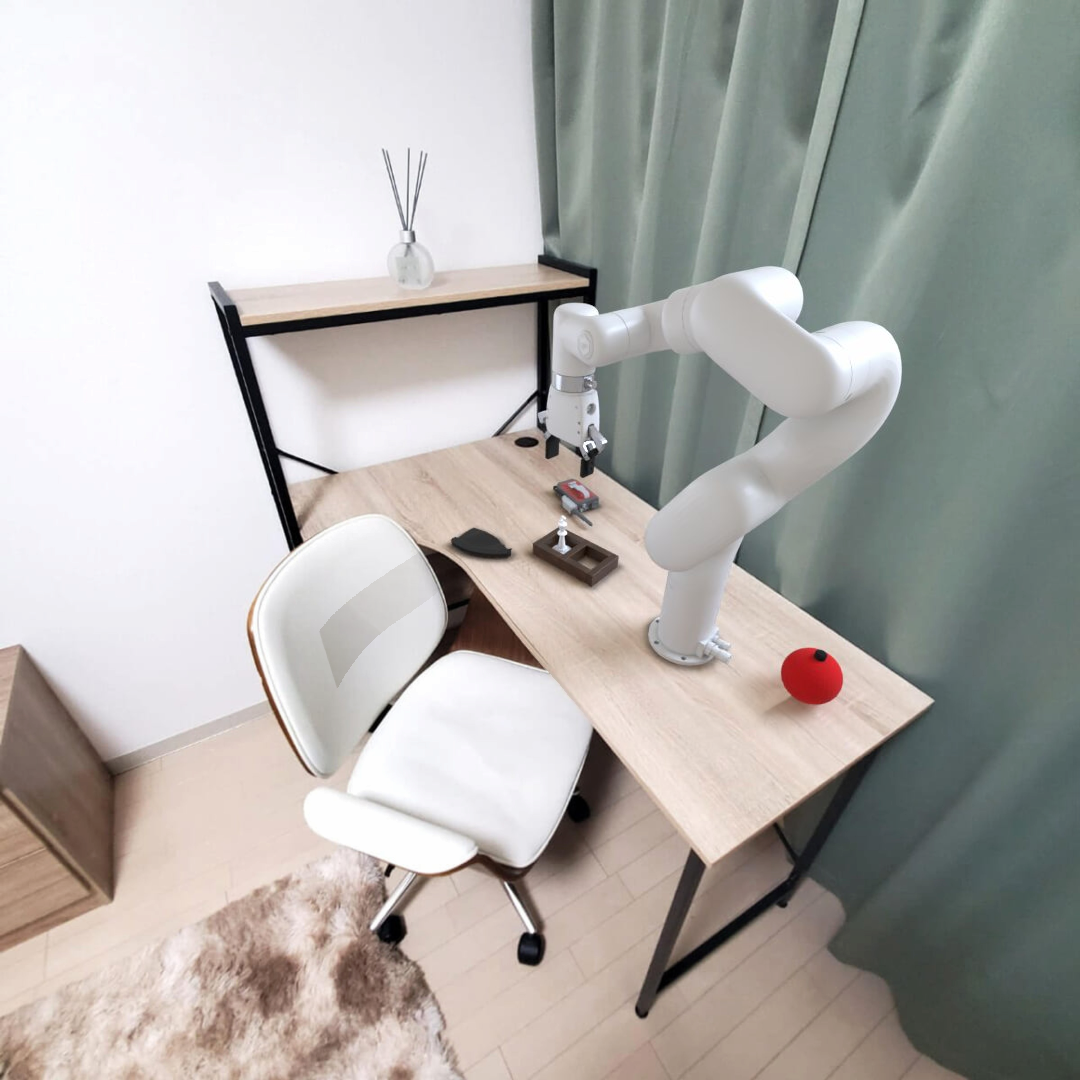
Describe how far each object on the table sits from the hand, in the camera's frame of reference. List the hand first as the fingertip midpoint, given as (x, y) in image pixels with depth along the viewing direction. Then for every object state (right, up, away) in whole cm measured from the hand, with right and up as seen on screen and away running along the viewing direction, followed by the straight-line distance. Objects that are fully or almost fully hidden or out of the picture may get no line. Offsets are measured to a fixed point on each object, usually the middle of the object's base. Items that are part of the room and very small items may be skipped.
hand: (568, 465), depth 104 cm
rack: (+2, -19, +14) cm, 24 cm away
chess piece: (-1, -18, +16) cm, 24 cm away
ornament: (+38, -40, -15) cm, 58 cm away
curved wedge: (-19, -16, +18) cm, 31 cm away
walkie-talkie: (+5, -6, +32) cm, 33 cm away
